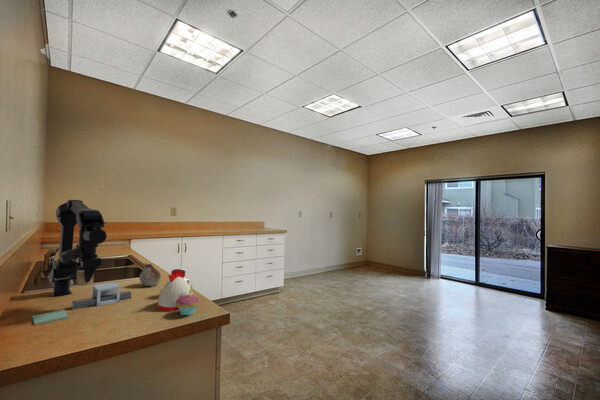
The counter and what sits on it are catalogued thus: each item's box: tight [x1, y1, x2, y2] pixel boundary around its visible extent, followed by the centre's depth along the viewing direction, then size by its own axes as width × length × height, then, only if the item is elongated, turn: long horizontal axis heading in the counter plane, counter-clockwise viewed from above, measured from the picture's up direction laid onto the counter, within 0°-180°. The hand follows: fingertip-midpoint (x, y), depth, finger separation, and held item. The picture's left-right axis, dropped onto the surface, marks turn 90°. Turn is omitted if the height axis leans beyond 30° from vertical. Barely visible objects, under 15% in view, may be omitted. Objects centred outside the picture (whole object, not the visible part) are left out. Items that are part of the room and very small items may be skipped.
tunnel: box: [91, 282, 121, 307], centre depth 119 cm, size 8×8×7 cm
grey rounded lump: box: [138, 262, 162, 287], centre depth 145 cm, size 10×9×12 cm
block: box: [75, 270, 95, 287], centre depth 110 cm, size 4×4×5 cm
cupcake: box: [175, 283, 200, 316], centre depth 109 cm, size 9×8×12 cm
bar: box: [70, 290, 132, 311], centre depth 118 cm, size 3×20×3 cm, turn 138°
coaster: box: [31, 309, 70, 326], centre depth 101 cm, size 9×9×1 cm
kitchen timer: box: [156, 268, 194, 312], centre depth 118 cm, size 14×14×15 cm
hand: (85, 281), depth 110 cm, fingers closed on block, 4 cm apart
